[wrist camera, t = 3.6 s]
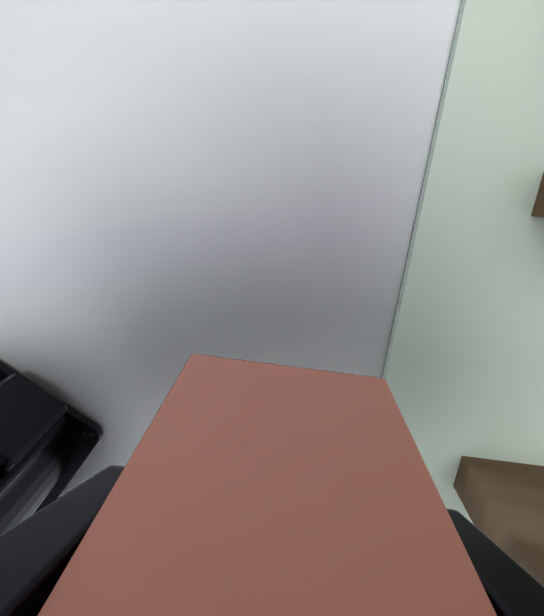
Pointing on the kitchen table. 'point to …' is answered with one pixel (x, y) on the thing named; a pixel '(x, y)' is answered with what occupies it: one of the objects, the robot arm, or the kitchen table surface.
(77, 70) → the kitchen table surface
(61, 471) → the robot arm
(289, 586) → the red domino
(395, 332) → the sage board
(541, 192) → the domino
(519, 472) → the domino
